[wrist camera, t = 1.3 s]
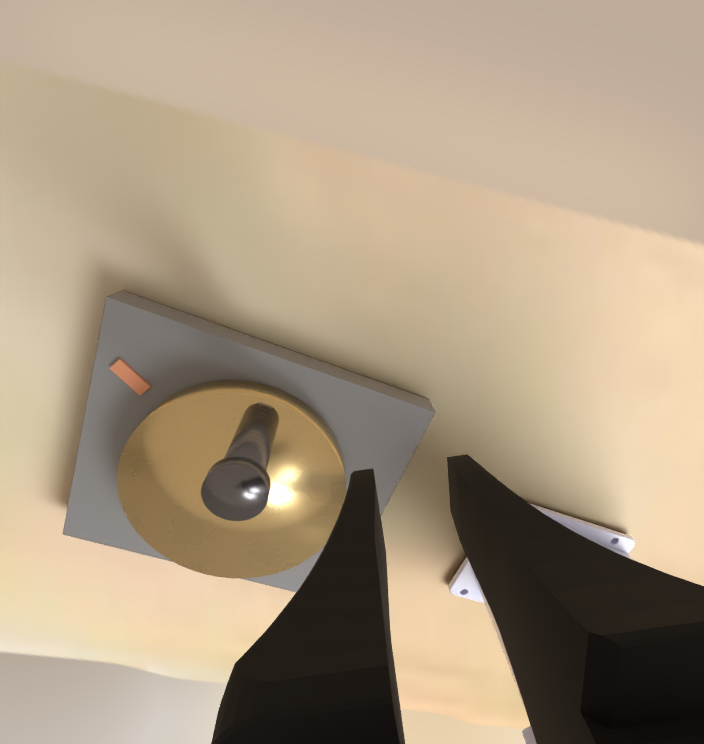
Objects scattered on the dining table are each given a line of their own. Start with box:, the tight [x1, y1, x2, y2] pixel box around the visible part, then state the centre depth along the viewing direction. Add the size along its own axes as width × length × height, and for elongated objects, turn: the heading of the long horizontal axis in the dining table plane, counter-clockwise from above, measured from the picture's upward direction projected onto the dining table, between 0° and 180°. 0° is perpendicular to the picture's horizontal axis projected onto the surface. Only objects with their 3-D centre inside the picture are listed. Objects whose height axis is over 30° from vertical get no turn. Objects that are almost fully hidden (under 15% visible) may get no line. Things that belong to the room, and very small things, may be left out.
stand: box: [63, 291, 435, 592], centre depth 22 cm, size 16×14×2 cm
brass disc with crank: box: [117, 380, 346, 578], centre depth 18 cm, size 11×11×7 cm
